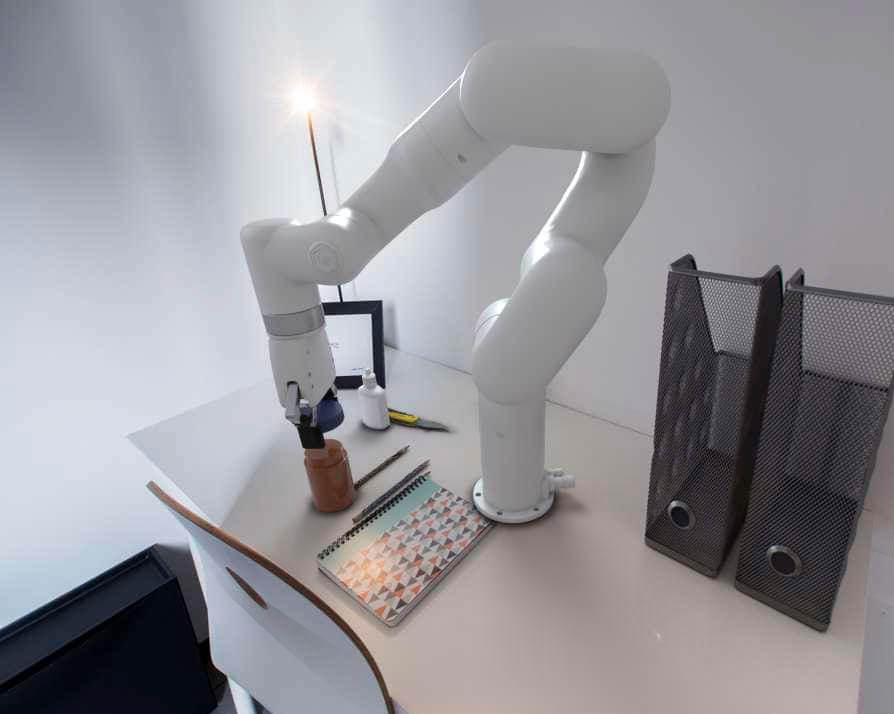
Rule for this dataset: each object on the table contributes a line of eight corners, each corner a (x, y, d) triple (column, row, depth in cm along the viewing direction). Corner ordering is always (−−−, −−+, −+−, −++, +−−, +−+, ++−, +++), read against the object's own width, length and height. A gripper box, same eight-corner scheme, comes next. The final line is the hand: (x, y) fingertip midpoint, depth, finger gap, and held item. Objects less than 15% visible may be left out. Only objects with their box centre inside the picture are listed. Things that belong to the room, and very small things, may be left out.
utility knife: (454, 420, 101) (447, 428, 99) (455, 426, 102) (447, 434, 99) (383, 406, 107) (374, 413, 104) (384, 411, 107) (375, 418, 105)
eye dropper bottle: (370, 433, 100) (360, 377, 94) (361, 420, 104) (351, 366, 99) (392, 427, 102) (383, 371, 96) (382, 414, 106) (374, 360, 100)
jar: (352, 482, 87) (342, 433, 83) (358, 505, 82) (348, 454, 78) (312, 492, 85) (299, 442, 81) (316, 516, 80) (302, 465, 76)
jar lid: (288, 434, 74) (284, 423, 74) (309, 410, 80) (306, 399, 79) (333, 435, 73) (330, 424, 73) (351, 410, 79) (349, 399, 78)
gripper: (292, 298, 77) (319, 404, 86) (234, 346, 62) (274, 469, 70) (343, 296, 76) (364, 403, 85) (297, 344, 61) (329, 468, 70)
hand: (323, 432), depth 78 cm, fingers closed on jar lid, 6 cm apart
